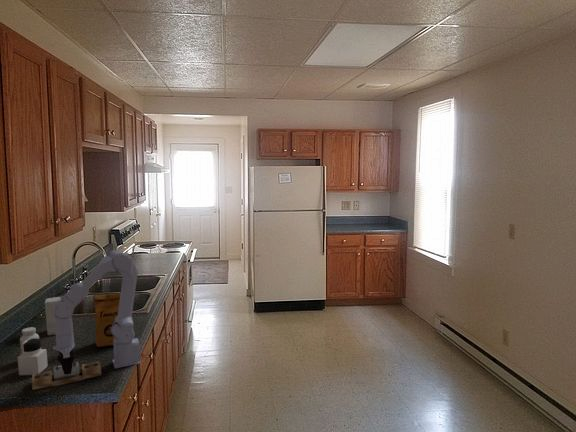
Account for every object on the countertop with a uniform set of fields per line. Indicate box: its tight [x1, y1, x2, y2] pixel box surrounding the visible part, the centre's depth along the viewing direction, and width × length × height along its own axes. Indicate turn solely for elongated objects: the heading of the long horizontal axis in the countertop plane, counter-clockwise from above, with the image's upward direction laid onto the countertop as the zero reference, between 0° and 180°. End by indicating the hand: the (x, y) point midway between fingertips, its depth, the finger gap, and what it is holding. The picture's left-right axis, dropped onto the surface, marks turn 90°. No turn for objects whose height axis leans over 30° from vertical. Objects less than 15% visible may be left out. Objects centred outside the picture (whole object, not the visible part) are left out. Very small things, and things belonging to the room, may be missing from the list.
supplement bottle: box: [19, 326, 40, 355], centre depth 176 cm, size 7×7×13 cm
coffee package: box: [93, 292, 121, 348], centre depth 191 cm, size 10×12×22 cm
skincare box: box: [44, 296, 61, 336], centre depth 206 cm, size 8×7×16 cm
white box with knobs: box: [53, 361, 81, 381], centre depth 161 cm, size 8×4×6 cm, turn 118°
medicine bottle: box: [17, 338, 49, 376], centre depth 167 cm, size 7×7×12 cm
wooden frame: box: [31, 360, 102, 391], centre depth 161 cm, size 22×7×3 cm, turn 118°
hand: (67, 369), depth 161 cm, fingers open, 7 cm apart
